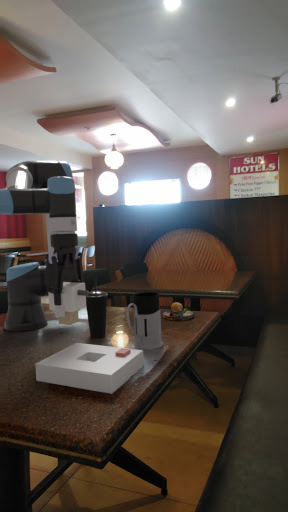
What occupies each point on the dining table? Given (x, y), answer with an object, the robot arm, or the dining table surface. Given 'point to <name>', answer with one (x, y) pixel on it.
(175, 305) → the burger
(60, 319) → the plug
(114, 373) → the socket
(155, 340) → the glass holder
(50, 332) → the dining table surface
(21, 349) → the dining table surface
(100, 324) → the drinking cup
